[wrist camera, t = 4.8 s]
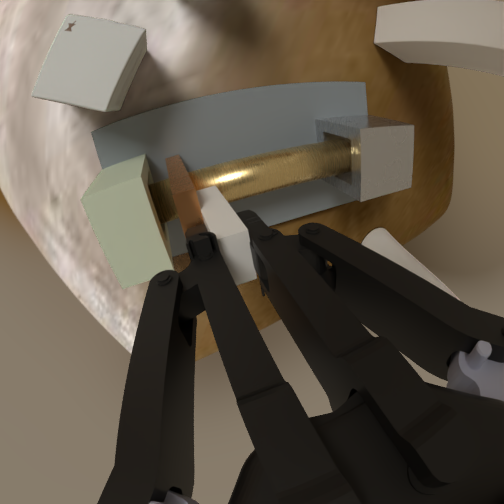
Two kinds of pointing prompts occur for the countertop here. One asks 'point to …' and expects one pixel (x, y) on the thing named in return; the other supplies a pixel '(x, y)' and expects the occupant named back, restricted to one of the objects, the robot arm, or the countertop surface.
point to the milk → (444, 33)
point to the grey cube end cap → (371, 154)
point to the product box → (91, 63)
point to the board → (237, 140)
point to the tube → (245, 177)
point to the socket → (128, 222)
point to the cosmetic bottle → (400, 256)
